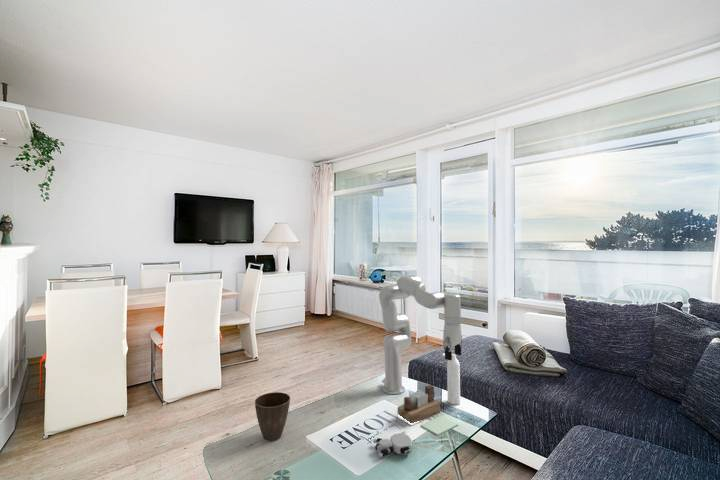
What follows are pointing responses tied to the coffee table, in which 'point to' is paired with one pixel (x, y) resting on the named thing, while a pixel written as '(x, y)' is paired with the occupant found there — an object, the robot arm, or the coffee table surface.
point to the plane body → (422, 413)
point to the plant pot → (272, 414)
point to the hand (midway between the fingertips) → (453, 357)
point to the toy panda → (394, 444)
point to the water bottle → (453, 380)
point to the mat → (439, 425)
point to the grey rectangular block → (419, 399)
